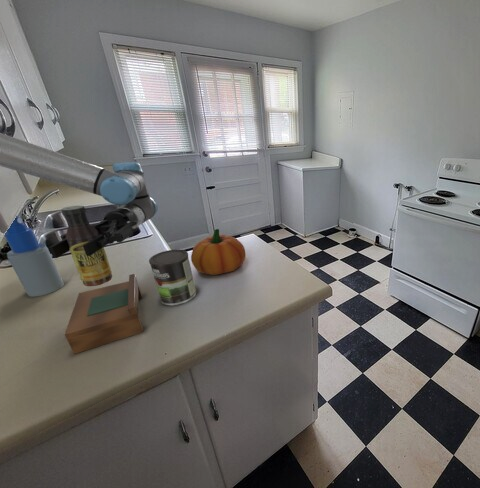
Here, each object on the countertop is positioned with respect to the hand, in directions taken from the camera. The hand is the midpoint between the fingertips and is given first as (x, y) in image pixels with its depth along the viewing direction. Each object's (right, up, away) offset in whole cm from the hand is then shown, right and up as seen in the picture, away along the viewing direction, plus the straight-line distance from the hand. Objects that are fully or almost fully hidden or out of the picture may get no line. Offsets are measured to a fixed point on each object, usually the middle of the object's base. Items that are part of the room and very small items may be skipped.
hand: (69, 251), depth 62 cm
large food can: (+12, -15, +24) cm, 31 cm away
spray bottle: (-35, -13, +29) cm, 47 cm away
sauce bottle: (-1, -8, +9) cm, 12 cm away
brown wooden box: (-1, -20, +14) cm, 24 cm away
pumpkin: (+18, -7, +42) cm, 47 cm away
